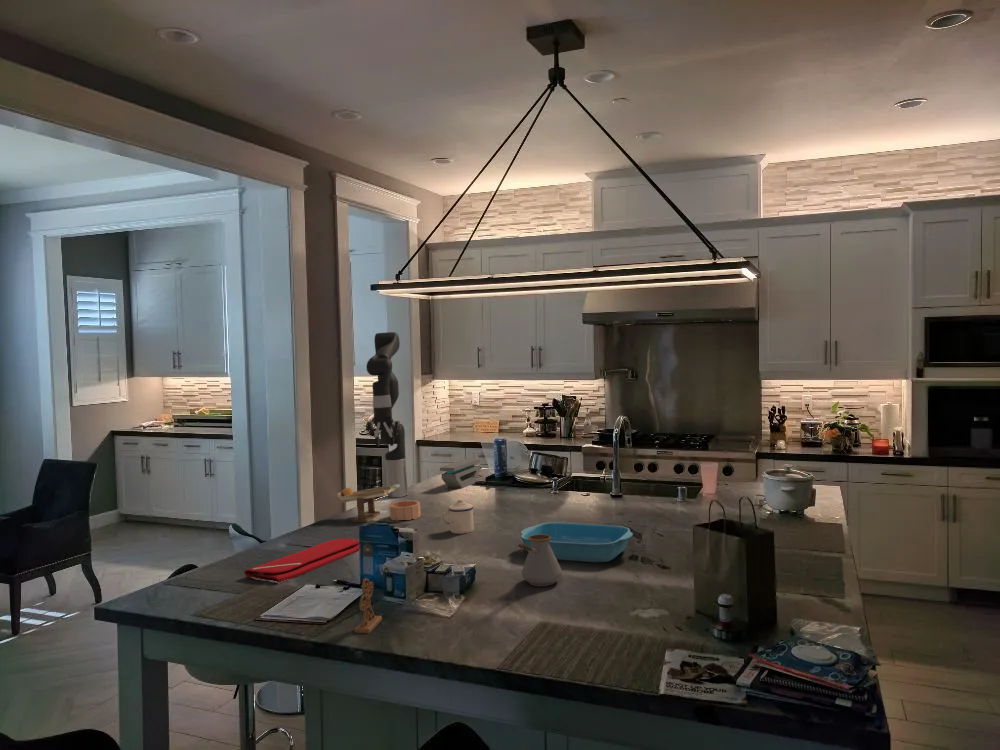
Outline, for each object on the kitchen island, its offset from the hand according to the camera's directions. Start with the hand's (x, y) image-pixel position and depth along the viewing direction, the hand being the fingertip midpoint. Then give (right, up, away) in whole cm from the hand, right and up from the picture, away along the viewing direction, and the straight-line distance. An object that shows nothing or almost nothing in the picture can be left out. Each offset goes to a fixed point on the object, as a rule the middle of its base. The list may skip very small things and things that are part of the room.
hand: (385, 445), depth 313 cm
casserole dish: (+73, -27, -75) cm, 108 cm away
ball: (-14, -18, -9) cm, 25 cm away
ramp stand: (-6, -28, -10) cm, 31 cm away
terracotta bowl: (+10, -28, -14) cm, 32 cm away
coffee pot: (+58, -30, -106) cm, 125 cm away
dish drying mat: (-14, -33, -68) cm, 77 cm away
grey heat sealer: (+30, -24, +45) cm, 59 cm away
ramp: (-5, -20, -6) cm, 21 cm away
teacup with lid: (+33, -28, -40) cm, 59 cm away
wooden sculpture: (+16, -33, -127) cm, 132 cm away
